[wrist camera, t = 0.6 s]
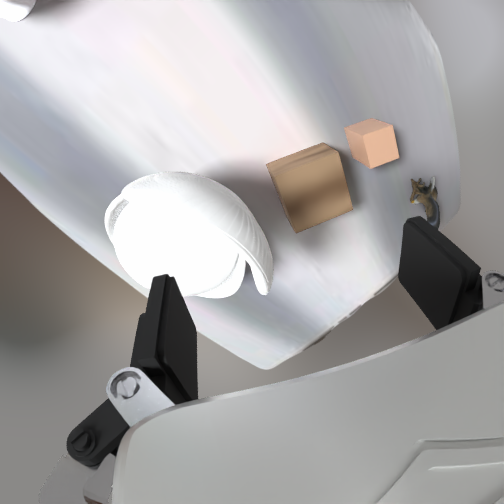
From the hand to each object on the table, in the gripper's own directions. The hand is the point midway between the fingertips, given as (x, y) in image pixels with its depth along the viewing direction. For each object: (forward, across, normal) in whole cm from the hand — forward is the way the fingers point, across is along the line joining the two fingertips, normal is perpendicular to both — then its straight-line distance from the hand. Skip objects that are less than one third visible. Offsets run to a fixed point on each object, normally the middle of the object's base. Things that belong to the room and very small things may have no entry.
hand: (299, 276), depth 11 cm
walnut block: (+33, -9, +9) cm, 35 cm away
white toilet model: (+33, +9, +10) cm, 35 cm away
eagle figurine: (+33, -31, +15) cm, 48 cm away
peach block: (+33, -19, +3) cm, 38 cm away
